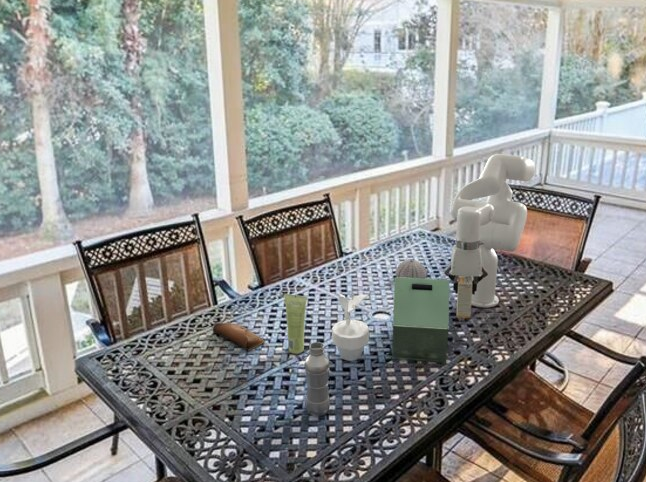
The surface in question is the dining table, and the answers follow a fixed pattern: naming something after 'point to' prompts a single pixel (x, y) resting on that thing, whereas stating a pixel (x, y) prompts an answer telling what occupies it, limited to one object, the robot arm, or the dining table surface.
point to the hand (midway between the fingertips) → (464, 292)
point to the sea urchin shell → (411, 270)
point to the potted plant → (350, 330)
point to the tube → (295, 322)
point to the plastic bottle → (317, 380)
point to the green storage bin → (420, 343)
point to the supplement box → (464, 296)
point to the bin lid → (421, 302)
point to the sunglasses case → (238, 335)
